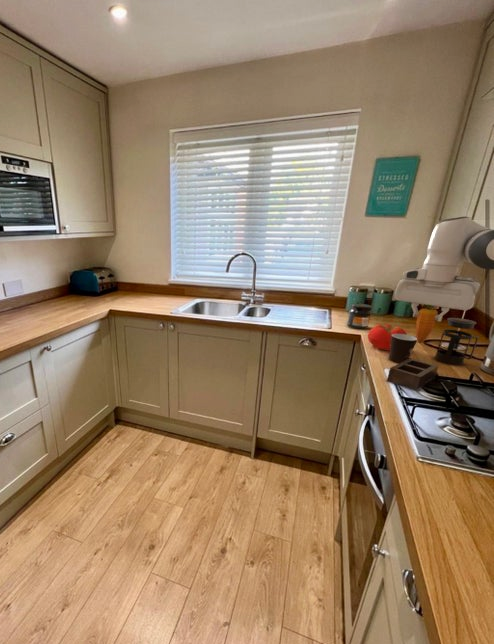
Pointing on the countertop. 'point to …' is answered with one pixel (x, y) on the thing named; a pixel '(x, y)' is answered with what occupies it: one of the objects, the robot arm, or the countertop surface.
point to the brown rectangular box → (412, 374)
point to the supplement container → (359, 316)
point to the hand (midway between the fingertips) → (426, 318)
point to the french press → (455, 342)
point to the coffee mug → (401, 347)
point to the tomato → (383, 336)
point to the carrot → (425, 322)
